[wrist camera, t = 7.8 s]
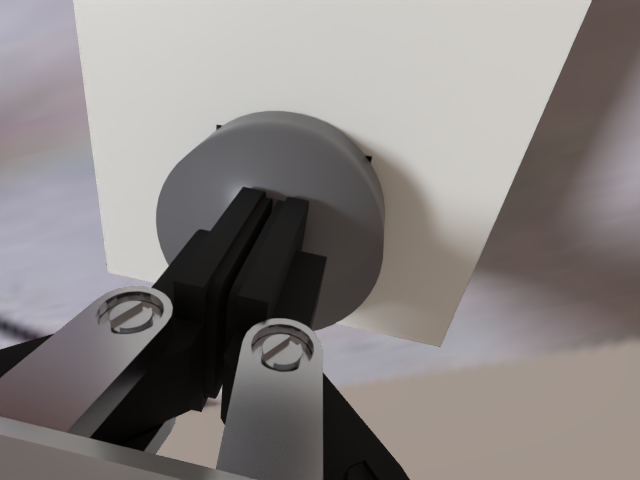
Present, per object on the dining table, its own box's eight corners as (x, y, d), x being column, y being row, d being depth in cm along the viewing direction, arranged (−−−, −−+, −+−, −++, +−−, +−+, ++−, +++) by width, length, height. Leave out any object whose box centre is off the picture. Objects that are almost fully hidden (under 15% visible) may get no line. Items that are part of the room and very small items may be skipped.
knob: (369, 226, 19) (356, 352, 13) (238, 198, 19) (160, 308, 13) (404, 89, 16) (412, 164, 9) (247, 57, 16) (150, 109, 10)
